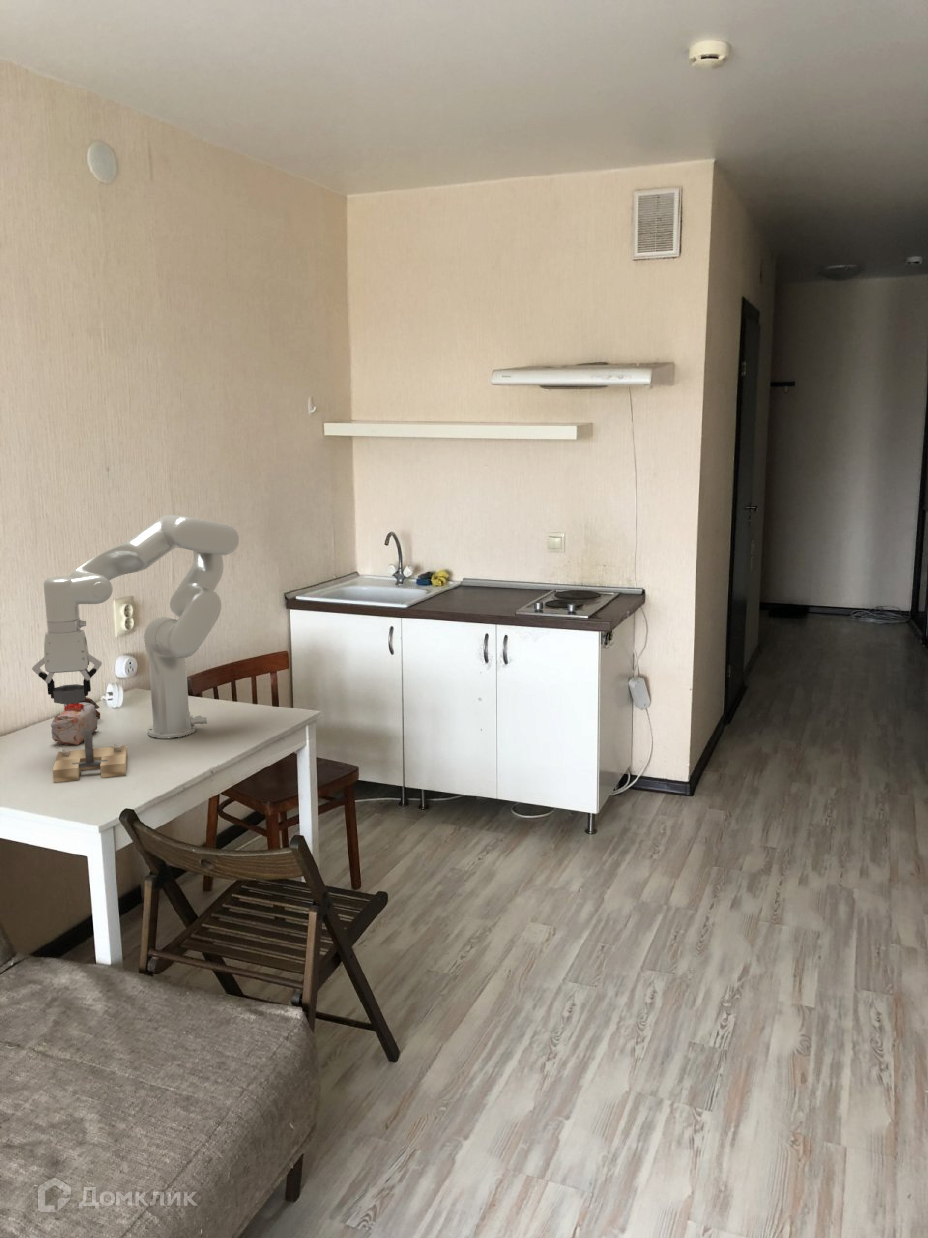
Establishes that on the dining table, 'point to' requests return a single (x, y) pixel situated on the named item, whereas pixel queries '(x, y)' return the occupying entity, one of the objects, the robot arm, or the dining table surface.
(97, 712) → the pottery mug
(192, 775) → the dining table surface
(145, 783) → the dining table surface
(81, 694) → the faceted grey ring
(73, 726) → the food item
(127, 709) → the dining table surface
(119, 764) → the toggle switch panel
